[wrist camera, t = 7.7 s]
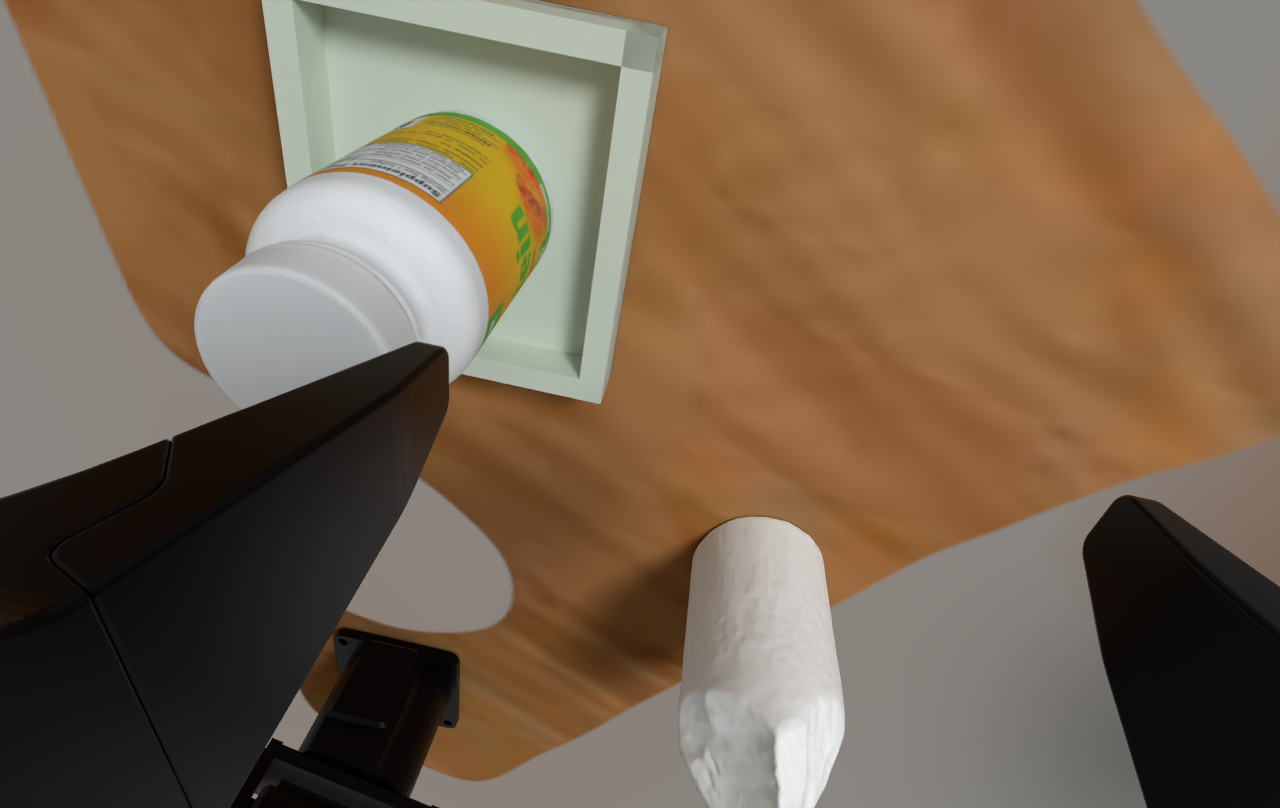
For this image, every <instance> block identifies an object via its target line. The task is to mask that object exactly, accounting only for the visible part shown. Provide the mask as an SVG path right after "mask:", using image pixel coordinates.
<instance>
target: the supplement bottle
mask: <svg viewBox="0 0 1280 808" xmlns="http://www.w3.org/2000/svg"><path fill="white" fill-rule="evenodd" d="M552 227H553V202H552V196H551V192H550V188H549V185H548V182H547V179H546V177H545V175H544V172H543V170H542V168H541V167H540V165H539V163H538V161H537V160H536V158H535V157H534V155H533V154H532V153H531V151H530V150H529V149H528V148H527V147H526V146H525V145H524V143H523V142H522V141H521V140H520V139H519V138H517V137H516V136H515V135H514V134H513V133H511V132H510V131H509V130H507V129H506V128H504V127H503V126H501V125H499V124H498V123H496V122H494V121H492V120H490V119H488V118H485V117H483V116H480V115H477V114H474V113H470V112H465V111H456V110H448V111H437V112H432V113H428V114H425V115H422V116H419V117H417V118H415V119H412V120H410V121H408V122H406V123H404V124H402V125H400V126H398V127H397V128H395V129H393V130H391V131H390V132H388V133H386V134H384V135H382V136H381V137H379V138H377V139H375V140H373V141H371V142H370V143H368V144H366V145H364V146H362V147H361V148H359V149H357V150H355V151H353V152H351V153H349V154H347V155H346V156H344V157H342V158H341V159H339V160H337V161H335V162H333V163H331V164H329V165H328V166H326V167H324V168H322V169H320V170H318V171H316V172H314V173H312V174H311V175H309V176H307V177H305V178H303V179H301V180H299V181H298V182H296V183H295V184H293V185H292V186H290V187H289V188H287V189H286V190H284V191H283V192H282V193H280V194H279V195H278V196H276V197H275V198H274V199H273V200H272V201H271V202H270V203H269V204H268V205H267V206H266V207H265V208H264V209H263V211H262V212H261V213H260V215H259V216H258V218H257V220H256V222H255V223H254V225H253V227H252V230H251V233H250V236H249V239H248V242H247V247H246V254H245V257H244V258H243V259H242V260H241V261H239V262H238V263H237V264H235V265H234V266H232V267H231V268H229V269H228V270H227V271H225V272H224V273H223V274H221V275H220V276H219V277H217V278H216V279H215V280H213V281H212V282H211V283H210V285H209V286H208V287H207V288H206V289H205V291H204V292H203V294H202V295H201V298H200V300H199V302H198V305H197V308H196V313H195V319H194V331H195V337H196V342H197V347H198V350H199V353H200V355H201V358H202V360H203V362H204V365H205V367H206V368H207V370H208V372H209V374H210V375H211V377H212V378H213V380H214V381H215V382H216V384H217V385H218V387H219V388H220V389H221V390H222V392H223V393H224V394H225V395H226V396H227V397H228V398H229V399H230V400H231V401H232V402H233V403H234V404H235V405H236V406H237V407H238V408H239V409H241V410H242V409H245V408H247V407H250V406H252V405H255V404H257V403H260V402H263V401H265V400H268V399H270V398H273V397H275V396H278V395H280V394H283V393H286V392H288V391H291V390H293V389H296V388H298V387H301V386H303V385H306V384H309V383H311V382H314V381H316V380H319V379H321V378H324V377H326V376H329V375H331V374H334V373H337V372H339V371H342V370H344V369H347V368H349V367H352V366H354V365H357V364H359V363H362V362H365V361H367V360H370V359H372V358H375V357H377V356H380V355H382V354H385V353H387V352H390V351H393V350H395V349H398V348H400V347H403V346H405V345H408V344H410V343H413V342H424V343H428V344H433V345H438V346H442V347H444V348H445V349H446V350H447V352H448V355H449V384H450V383H451V382H452V381H454V380H455V379H456V378H457V377H458V376H460V375H461V374H462V372H463V371H464V370H465V369H466V368H467V366H468V365H469V364H470V362H471V361H472V360H473V358H474V357H475V356H476V354H477V353H478V351H479V350H480V348H481V347H482V345H483V344H484V342H485V341H486V339H487V338H488V336H489V334H490V333H491V331H492V330H493V328H494V327H495V326H496V324H497V323H498V321H499V320H500V318H501V317H502V315H503V314H504V312H505V311H506V309H507V308H508V306H509V305H510V303H511V302H512V300H513V299H514V297H515V296H516V294H517V293H518V292H519V290H520V289H521V287H522V286H523V284H524V283H525V281H526V280H527V278H528V277H529V275H530V274H531V273H532V271H533V270H534V268H535V267H536V265H537V264H538V262H539V261H540V259H541V257H542V256H543V254H544V252H545V250H546V248H547V245H548V242H549V240H550V236H551V232H552Z"/></svg>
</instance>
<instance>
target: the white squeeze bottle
mask: <svg viewBox="0 0 1280 808" xmlns="http://www.w3.org/2000/svg"><path fill="white" fill-rule="evenodd" d="M844 724H845V712H844V703H843V695H842V687H841V680H840V673H839V667H838V661H837V655H836V648H835V641H834V634H833V629H832V619H831V612H830V606H829V599H828V592H827V586H826V579H825V570H824V563H823V558H822V554H821V552H820V550H819V548H818V546H817V545H816V544H815V542H814V540H813V539H812V538H811V537H810V536H809V535H808V534H806V533H805V532H804V531H802V530H800V529H799V528H798V527H796V526H794V525H792V524H791V523H789V522H787V521H782V520H778V519H774V518H769V517H759V516H758V517H754V516H751V517H750V516H749V517H742V518H736V519H733V520H730V521H727V522H726V523H724V524H722V525H720V526H718V527H716V528H715V529H713V530H712V531H711V532H710V533H709V534H708V535H707V536H706V537H705V538H704V539H703V540H702V541H701V543H700V544H699V545H698V547H697V549H696V550H695V553H694V555H693V560H692V570H691V579H690V593H689V602H688V613H687V625H686V635H685V645H684V655H683V669H682V679H681V688H680V700H679V714H678V740H679V748H680V754H681V755H682V757H683V760H684V762H685V764H686V766H687V767H688V769H689V771H690V774H691V776H692V779H693V780H694V783H695V785H696V788H697V791H698V792H699V794H700V796H701V798H702V800H703V802H704V804H705V806H706V808H814V807H815V805H816V803H817V801H818V799H819V797H820V795H821V793H822V792H823V790H824V788H825V786H826V783H827V781H828V777H829V774H830V771H831V769H832V766H833V764H834V761H835V759H836V756H837V754H838V751H839V748H840V745H841V742H842V739H843V736H844V730H845V725H844Z"/></svg>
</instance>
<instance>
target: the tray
mask: <svg viewBox="0 0 1280 808" xmlns="http://www.w3.org/2000/svg"><path fill="white" fill-rule="evenodd" d="M262 6H263V13H264V21H265V28H266V35H267V43H268V50H269V57H270V64H271V72H272V79H273V86H274V94H275V101H276V108H277V115H278V123H279V130H280V137H281V145H282V152H283V159H284V166H285V174H286V181H287V188H289V187H290V186H292V185H293V184H295V183H296V182H298V181H299V180H301V179H303V178H305V177H307V176H309V175H311V174H312V173H314V172H316V171H318V170H320V169H322V168H324V167H326V166H328V165H329V164H331V163H333V162H335V161H337V160H339V159H341V158H342V157H344V156H346V155H347V154H349V153H351V152H353V151H355V150H357V149H359V148H361V147H362V146H364V145H366V144H368V143H370V142H371V141H373V140H375V139H377V138H379V137H381V136H382V135H384V134H386V133H388V132H390V131H391V130H393V129H395V128H397V127H398V126H400V125H402V124H404V123H406V122H408V121H410V120H412V119H415V118H417V117H419V116H422V115H425V114H428V113H432V112H437V111H448V110H456V111H465V112H470V113H474V114H477V115H480V116H483V117H485V118H488V119H490V120H492V121H494V122H496V123H498V124H499V125H501V126H503V127H504V128H506V129H507V130H509V131H510V132H511V133H513V134H514V135H515V136H516V137H517V138H519V139H520V140H521V141H522V142H523V143H524V145H525V146H526V147H527V148H528V149H529V150H530V151H531V153H532V154H533V155H534V157H535V158H536V160H537V161H538V163H539V165H540V167H541V168H542V170H543V172H544V175H545V177H546V179H547V182H548V185H549V188H550V192H551V196H552V202H553V227H552V232H551V236H550V240H549V242H548V245H547V248H546V250H545V252H544V254H543V256H542V257H541V259H540V261H539V262H538V264H537V265H536V267H535V268H534V270H533V271H532V273H531V274H530V275H529V277H528V278H527V280H526V281H525V283H524V284H523V286H522V287H521V289H520V290H519V292H518V293H517V294H516V296H515V297H514V299H513V300H512V302H511V303H510V305H509V306H508V308H507V309H506V311H505V312H504V314H503V315H502V317H501V318H500V320H499V321H498V323H497V324H496V326H495V327H494V328H493V330H492V331H491V333H490V334H489V336H488V338H487V339H486V341H485V342H484V344H483V345H482V347H481V348H480V350H479V351H478V353H477V354H476V356H475V357H474V358H473V360H472V361H471V362H470V364H469V365H468V366H467V368H466V369H465V370H464V371H463V372H462V374H464V375H469V376H473V377H478V378H482V379H487V380H492V381H496V382H501V383H505V384H510V385H514V386H519V387H524V388H528V389H533V390H537V391H542V392H547V393H551V394H556V395H560V396H565V397H570V398H574V399H579V400H583V401H588V402H592V403H597V404H601V401H602V398H603V395H604V392H605V389H606V385H607V382H608V379H609V376H610V373H611V369H612V362H613V356H614V350H615V344H616V338H617V332H618V326H619V320H620V314H621V308H622V302H623V296H624V290H625V284H626V278H627V272H628V266H629V260H630V253H631V247H632V241H633V235H634V229H635V223H636V217H637V211H638V205H639V199H640V193H641V187H642V181H643V175H644V169H645V163H646V157H647V150H648V144H649V138H650V132H651V126H652V120H653V114H654V108H655V102H656V96H657V90H658V84H659V78H660V72H661V66H662V60H663V54H664V47H665V41H666V35H667V29H668V27H666V26H661V25H656V24H651V23H646V22H641V21H636V20H632V19H627V18H622V17H617V16H612V15H607V14H602V13H597V12H593V11H588V10H583V9H578V8H573V7H568V6H563V5H558V4H554V3H549V2H544V1H539V0H262Z"/></svg>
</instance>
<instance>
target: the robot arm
mask: <svg viewBox="0 0 1280 808" xmlns="http://www.w3.org/2000/svg"><path fill="white" fill-rule="evenodd" d="M448 403H449V355H448V352H447V350H446V349H445V348H444V347H442V346H438V345H433V344H428V343H424V342H413V343H410V344H408V345H405V346H403V347H400V348H398V349H395V350H393V351H390V352H387V353H385V354H382V355H380V356H377V357H375V358H372V359H370V360H367V361H365V362H362V363H359V364H357V365H354V366H352V367H349V368H347V369H344V370H342V371H339V372H337V373H334V374H331V375H329V376H326V377H324V378H321V379H319V380H316V381H314V382H311V383H309V384H306V385H303V386H301V387H298V388H296V389H293V390H291V391H288V392H286V393H283V394H280V395H278V396H275V397H273V398H270V399H268V400H265V401H263V402H260V403H257V404H255V405H252V406H250V407H247V408H245V409H242V410H240V411H237V412H235V413H232V414H229V415H227V416H224V417H222V418H219V419H217V420H214V421H211V422H209V423H206V424H204V425H201V426H199V427H196V428H194V429H191V430H188V431H186V432H184V433H181V434H178V435H176V436H174V437H173V438H172V441H170V440H163V441H160V442H158V443H155V444H153V445H150V446H148V447H145V448H142V449H140V450H137V451H135V452H132V453H129V454H127V455H124V456H121V457H119V458H116V459H113V460H111V461H108V462H105V463H103V464H100V465H97V466H95V467H92V468H89V469H86V470H84V471H81V472H78V473H75V474H72V475H69V476H67V477H63V478H60V479H57V480H54V481H51V482H49V483H46V484H43V485H40V486H37V487H34V488H31V489H28V490H25V491H22V492H19V493H16V494H12V495H9V496H7V497H3V498H0V808H439V807H436V806H434V805H432V806H431V807H430V806H428V805H425V804H423V803H421V802H419V801H416V800H414V799H411V798H410V796H411V793H412V791H413V788H414V786H415V783H416V781H417V778H418V776H419V773H420V771H421V768H422V766H423V763H424V761H425V758H426V756H427V753H428V751H429V748H430V746H431V743H432V741H433V738H434V736H435V733H436V731H437V728H438V726H442V727H447V728H454V727H456V724H457V722H458V719H459V678H460V660H459V658H458V657H457V656H456V655H454V654H451V653H447V652H443V651H438V650H434V649H430V648H425V647H421V646H416V645H412V644H408V643H403V642H399V641H394V640H390V639H386V638H381V637H377V636H372V635H368V634H364V633H359V632H355V631H350V630H346V629H341V630H339V631H338V632H337V634H336V635H335V637H334V644H335V651H336V657H337V663H338V669H339V676H340V677H339V679H338V680H337V682H336V684H335V686H334V688H333V689H332V691H331V693H330V695H329V696H328V698H327V700H326V702H325V704H324V705H323V707H322V709H321V711H320V713H319V714H318V716H317V718H316V720H315V722H314V723H313V725H312V727H311V729H310V731H309V732H308V734H307V736H306V738H305V740H304V741H303V743H302V745H301V747H300V748H299V750H298V751H297V750H294V749H292V748H289V747H287V746H285V745H282V744H283V742H281V741H279V740H276V739H274V738H272V739H271V741H270V743H269V744H268V746H267V748H265V747H266V745H267V743H268V742H269V740H270V738H271V736H272V735H273V733H274V731H275V729H276V728H277V726H278V724H279V723H280V721H281V719H282V718H283V716H284V714H285V712H286V711H287V709H288V707H289V706H290V704H291V702H292V700H293V699H294V697H295V695H296V693H297V692H298V690H299V689H300V687H301V685H302V683H303V682H304V680H305V678H306V677H307V675H308V673H309V671H310V670H311V668H312V666H313V665H314V663H315V661H316V660H317V658H318V656H319V654H320V653H321V651H322V649H323V648H324V646H325V644H326V642H327V641H328V639H329V637H330V636H331V634H332V632H333V630H334V629H335V627H336V625H337V624H338V622H339V620H340V619H341V617H342V615H343V613H344V612H345V610H346V608H347V607H348V605H349V603H350V601H351V600H352V598H353V596H354V595H355V593H356V591H357V589H358V588H359V586H360V584H361V583H362V581H363V579H364V578H365V576H366V574H367V572H368V571H369V569H370V567H371V565H372V564H373V562H374V560H375V559H376V557H377V555H378V553H379V552H380V550H381V548H382V547H383V545H384V543H385V542H386V540H387V538H388V536H389V535H390V533H391V531H392V529H393V528H394V526H395V525H396V522H397V521H398V519H399V518H400V516H401V514H402V512H403V510H404V508H405V506H406V505H407V503H408V500H409V498H410V496H411V494H412V492H413V490H414V487H415V485H416V483H417V480H418V478H419V476H420V473H421V471H422V469H423V466H424V464H425V462H426V459H427V457H428V455H429V452H430V450H431V447H432V445H433V443H434V440H435V438H436V436H437V433H438V431H439V429H440V426H441V424H442V422H443V419H444V417H445V415H446V412H447V408H448ZM1083 560H1084V565H1085V570H1086V576H1087V581H1088V587H1089V591H1090V597H1091V602H1092V608H1093V614H1094V619H1095V624H1096V630H1097V635H1098V640H1099V645H1100V650H1101V654H1102V659H1103V663H1104V667H1105V670H1106V674H1107V677H1108V681H1109V684H1110V688H1111V691H1112V694H1113V697H1114V701H1115V704H1116V707H1117V711H1118V714H1119V717H1120V721H1121V723H1122V727H1123V730H1124V734H1125V737H1126V740H1127V744H1128V747H1129V750H1130V754H1131V757H1132V760H1133V764H1134V767H1135V770H1136V773H1137V777H1138V780H1139V783H1140V787H1141V790H1142V793H1143V797H1144V800H1145V803H1146V806H1147V808H1280V587H1279V586H1278V585H1276V584H1275V583H1274V582H1272V581H1271V580H1269V579H1268V578H1266V577H1265V576H1264V575H1262V574H1261V573H1259V572H1258V571H1257V570H1255V569H1254V568H1252V567H1251V566H1249V565H1248V564H1247V563H1245V562H1244V561H1242V560H1241V559H1240V558H1238V557H1237V556H1235V555H1234V554H1232V553H1231V552H1230V551H1228V550H1227V549H1225V548H1224V547H1223V546H1221V545H1220V544H1218V543H1217V542H1215V541H1214V540H1213V539H1211V538H1210V537H1208V536H1207V535H1205V534H1204V533H1202V532H1201V531H1200V530H1198V529H1197V528H1196V527H1194V526H1193V525H1191V524H1190V523H1188V522H1187V521H1186V520H1184V519H1183V518H1181V517H1180V516H1178V515H1177V514H1176V513H1174V512H1173V511H1171V510H1170V509H1169V508H1167V507H1166V506H1164V505H1163V504H1161V503H1160V502H1157V501H1154V500H1150V499H1145V498H1140V497H1136V496H1131V495H1125V496H1121V497H1119V498H1117V499H1116V500H1115V501H1114V502H1113V503H1112V504H1111V506H1110V507H1109V508H1108V510H1107V511H1106V512H1105V513H1104V515H1103V516H1102V517H1101V518H1100V520H1099V521H1098V522H1097V524H1096V525H1095V526H1094V527H1093V529H1092V530H1091V531H1090V533H1089V534H1088V535H1087V537H1086V539H1085V541H1084V545H1083ZM254 793H255V794H258V797H257V798H256V799H253V798H252V796H253V794H254Z"/></svg>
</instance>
